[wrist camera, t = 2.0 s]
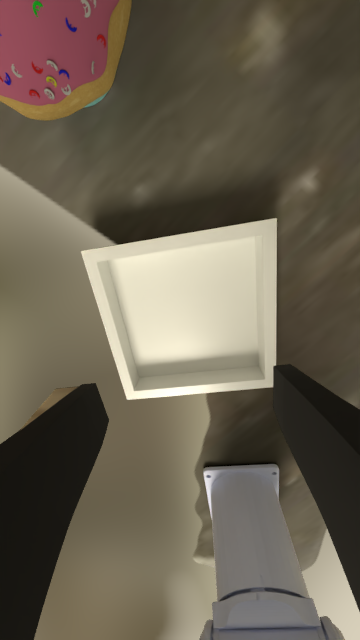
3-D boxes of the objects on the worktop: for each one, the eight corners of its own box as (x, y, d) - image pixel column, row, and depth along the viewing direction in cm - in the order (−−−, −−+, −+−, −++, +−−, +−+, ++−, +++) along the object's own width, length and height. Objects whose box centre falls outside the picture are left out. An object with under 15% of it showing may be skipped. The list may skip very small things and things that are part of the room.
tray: (266, 368, 19) (275, 386, 17) (134, 381, 20) (127, 399, 18) (264, 219, 15) (276, 218, 12) (96, 248, 16) (80, 251, 14)
